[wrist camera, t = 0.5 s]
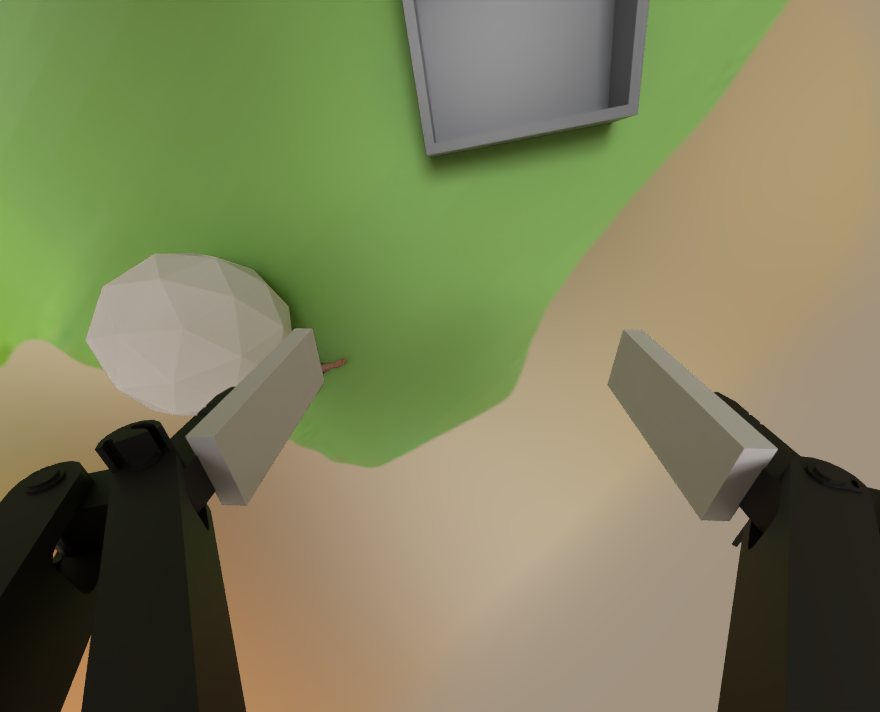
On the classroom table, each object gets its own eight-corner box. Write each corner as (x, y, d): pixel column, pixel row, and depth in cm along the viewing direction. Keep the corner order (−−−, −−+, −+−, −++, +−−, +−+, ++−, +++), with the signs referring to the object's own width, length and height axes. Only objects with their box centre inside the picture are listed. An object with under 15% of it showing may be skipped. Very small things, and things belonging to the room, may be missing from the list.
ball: (199, 179, 29) (55, 446, 18) (369, 322, 49) (354, 492, 37) (100, 249, 36) (-54, 479, 24) (285, 350, 56) (250, 504, 44)
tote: (430, 157, 33) (426, 155, 29) (401, -34, 27) (390, -74, 23) (612, 122, 31) (637, 114, 27) (628, -95, 25) (664, -152, 20)
